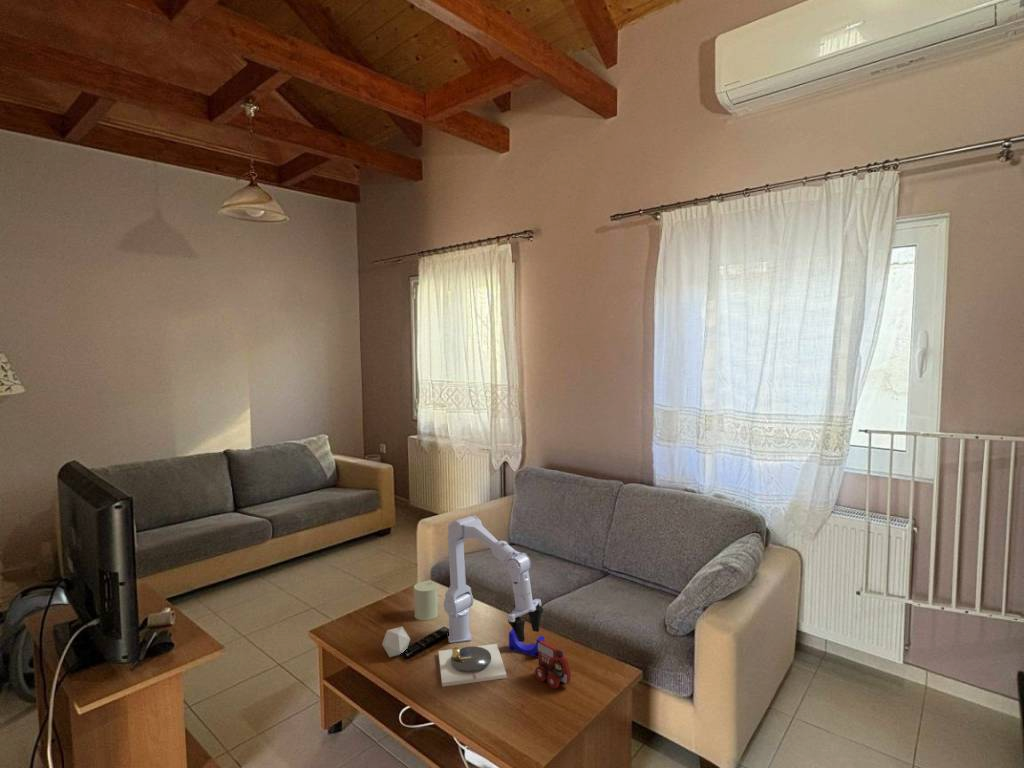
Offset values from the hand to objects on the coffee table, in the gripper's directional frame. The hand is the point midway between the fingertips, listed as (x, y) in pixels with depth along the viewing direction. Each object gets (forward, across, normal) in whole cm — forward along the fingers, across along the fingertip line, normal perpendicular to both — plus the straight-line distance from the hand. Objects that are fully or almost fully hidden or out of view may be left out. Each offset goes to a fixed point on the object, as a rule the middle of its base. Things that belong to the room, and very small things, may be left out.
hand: (528, 636), depth 170 cm
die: (+4, -22, +42) cm, 47 cm away
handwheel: (+6, -11, +17) cm, 21 cm away
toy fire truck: (+12, 0, -8) cm, 15 cm away
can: (+2, +3, +54) cm, 54 cm away
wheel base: (+8, -11, +17) cm, 22 cm away
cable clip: (+10, +8, +9) cm, 15 cm away
